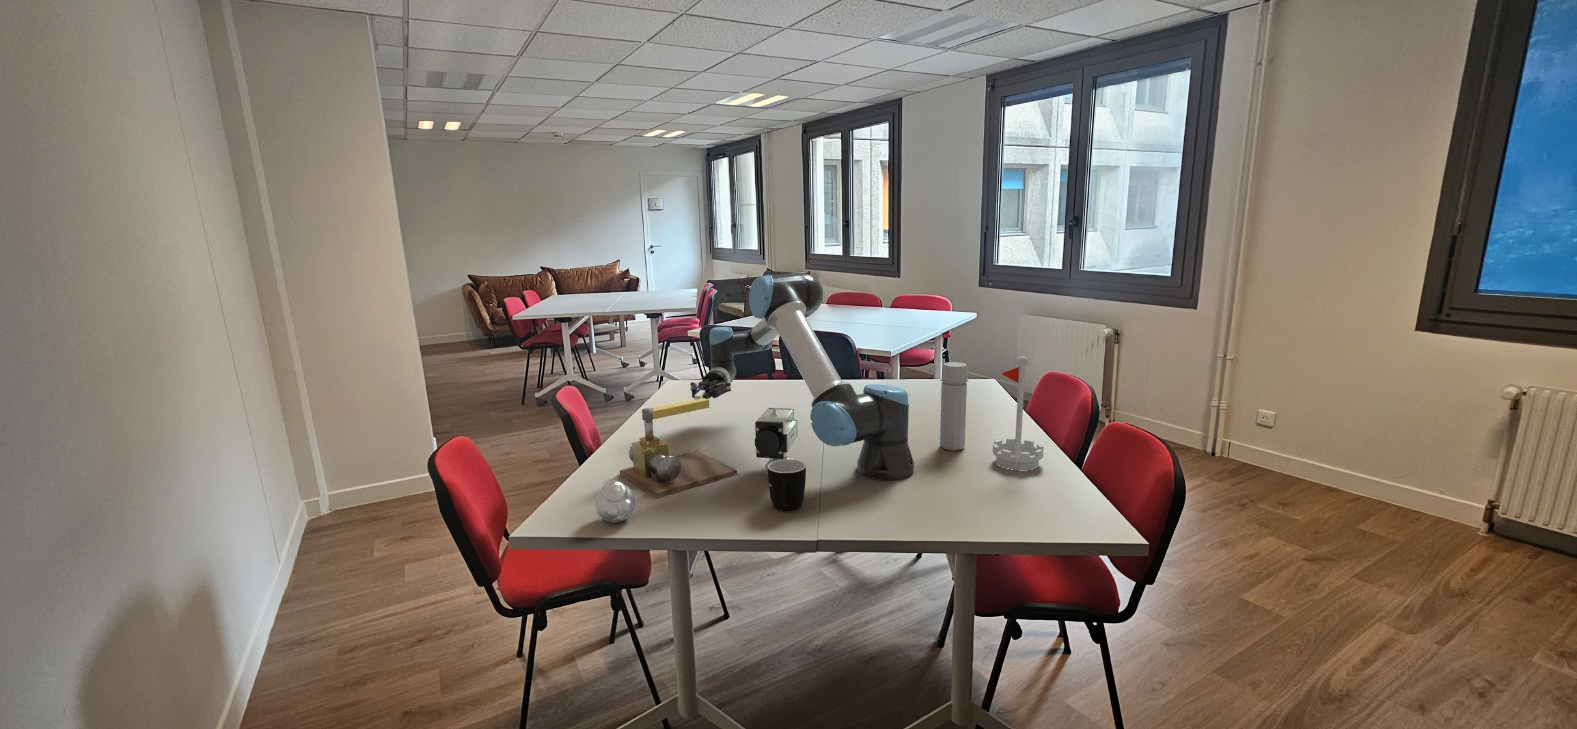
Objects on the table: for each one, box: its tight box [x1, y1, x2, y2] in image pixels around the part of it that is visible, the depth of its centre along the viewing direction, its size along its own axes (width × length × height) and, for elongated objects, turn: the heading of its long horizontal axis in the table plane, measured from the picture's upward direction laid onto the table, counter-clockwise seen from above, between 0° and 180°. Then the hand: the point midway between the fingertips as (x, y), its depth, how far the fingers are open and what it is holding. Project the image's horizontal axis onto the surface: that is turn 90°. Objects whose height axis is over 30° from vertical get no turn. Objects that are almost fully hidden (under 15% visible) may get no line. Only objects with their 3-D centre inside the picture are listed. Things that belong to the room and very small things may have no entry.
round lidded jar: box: [594, 480, 637, 524], centre depth 149 cm, size 9×10×10 cm
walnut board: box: [619, 450, 738, 499], centre depth 178 cm, size 24×21×1 cm
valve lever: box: [641, 398, 710, 422], centre depth 179 cm, size 20×3×3 cm, turn 128°
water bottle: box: [939, 361, 969, 452], centre depth 193 cm, size 9×8×25 cm
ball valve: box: [754, 407, 799, 476], centre depth 176 cm, size 18×8×18 cm, turn 168°
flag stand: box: [992, 355, 1044, 470], centre depth 178 cm, size 13×13×30 cm
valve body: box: [628, 419, 681, 483], centre depth 174 cm, size 7×17×14 cm, turn 38°
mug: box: [767, 459, 807, 512], centre depth 154 cm, size 12×9×10 cm
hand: (697, 400), depth 188 cm, fingers closed
